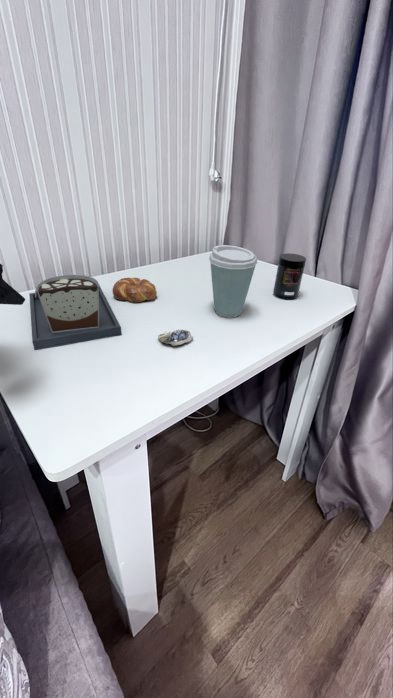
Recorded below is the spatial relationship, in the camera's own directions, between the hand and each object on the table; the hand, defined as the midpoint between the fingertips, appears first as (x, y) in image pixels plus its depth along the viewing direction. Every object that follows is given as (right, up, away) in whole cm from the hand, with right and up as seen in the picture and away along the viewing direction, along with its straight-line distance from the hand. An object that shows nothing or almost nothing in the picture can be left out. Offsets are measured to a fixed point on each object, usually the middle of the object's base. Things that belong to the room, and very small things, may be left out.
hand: (9, 293), depth 53 cm
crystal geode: (+26, -7, +16) cm, 31 cm away
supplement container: (+54, +6, +37) cm, 66 cm away
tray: (+2, -2, +22) cm, 22 cm away
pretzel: (+14, +5, +34) cm, 37 cm away
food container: (+4, -4, +19) cm, 19 cm away
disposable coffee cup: (+37, 0, +27) cm, 46 cm away
